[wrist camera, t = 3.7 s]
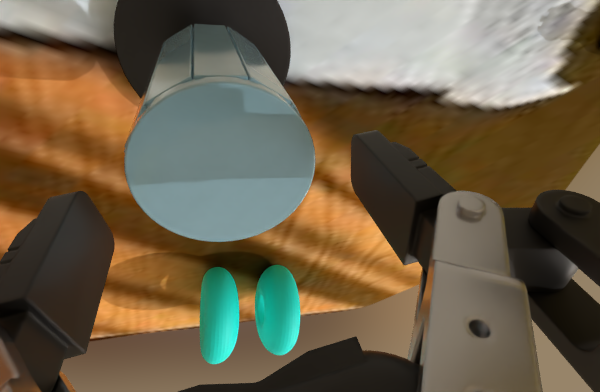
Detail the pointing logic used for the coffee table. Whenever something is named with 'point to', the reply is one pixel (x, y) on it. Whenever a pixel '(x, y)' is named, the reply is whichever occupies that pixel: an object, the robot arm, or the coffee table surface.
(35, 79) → the coffee table surface
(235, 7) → the holder
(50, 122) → the coffee table surface
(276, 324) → the donuts
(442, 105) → the coffee table surface
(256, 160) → the cup
